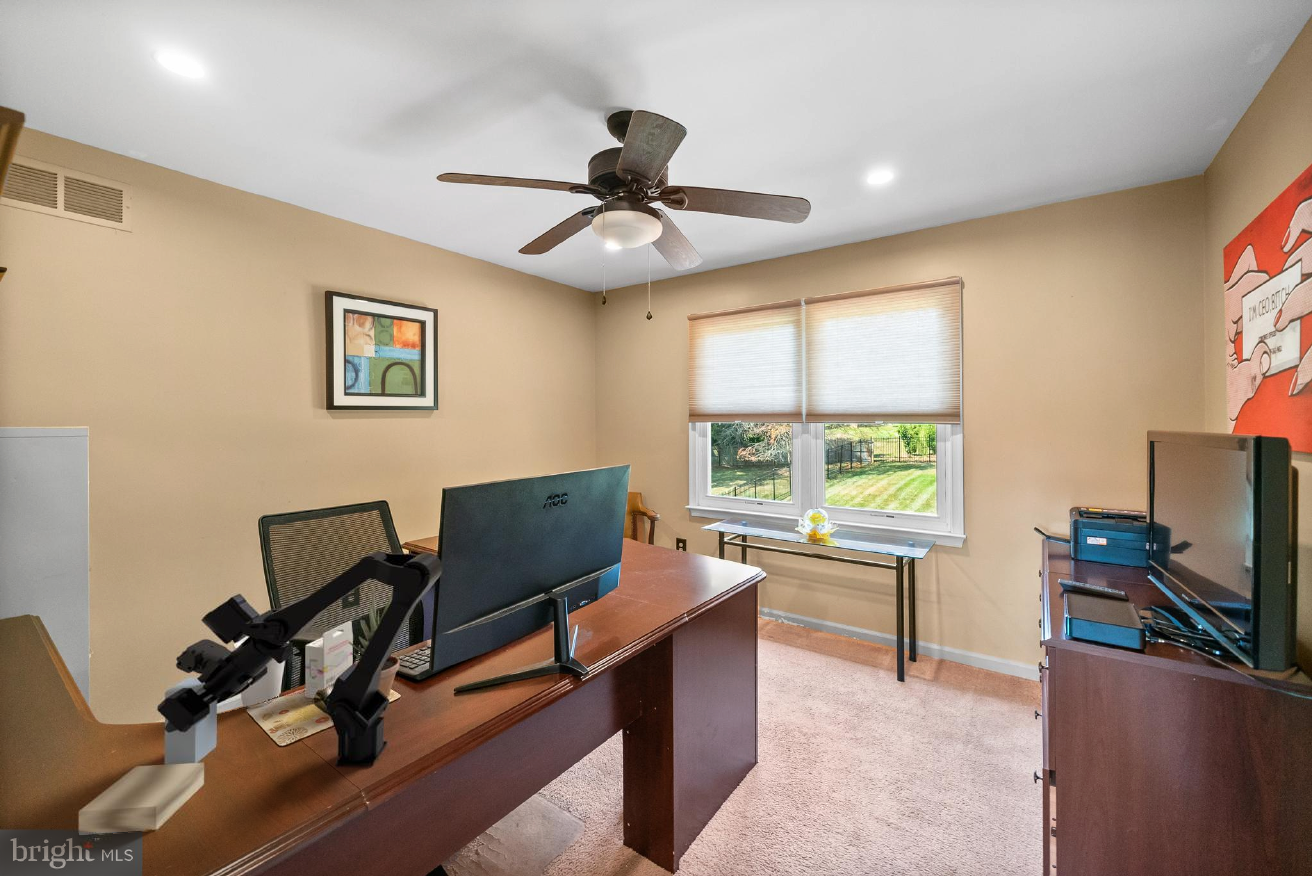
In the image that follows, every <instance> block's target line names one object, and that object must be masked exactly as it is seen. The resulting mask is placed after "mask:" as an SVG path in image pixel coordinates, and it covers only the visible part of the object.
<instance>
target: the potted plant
mask: <svg viewBox="0 0 1312 876" xmlns="http://www.w3.org/2000/svg"><path fill="white" fill-rule="evenodd" d="M371 593H372V594H371V603H372V604H371V603H369V612H368V613H369V626H370V630H369V627H368V626H367V624H366V623H367V622H366V621H365V620H364V619H363V620H362V619H360V621H359V622H360V626H361V629H362V631H363V634H364V637H365V638H366V640H365V639H364V638H362V636H358V639H359V641H360V642H361V645H362V648H360V647H358V646H357V645H355V644H354V643H353V644H352V643H351V642H349V643H350V644H351V645H352V646H353V649H355V650H356V651H358V652H359V653H360V654H362V655H363V653H364V651H365V649H366V647H367V645H368V644H369V642H370V640H371V638H372V636H373V634H374V632H375V631H376V629H377V627H378V625H379V623H380V621H381V619H382V618H383V616H384V614H385V612H386V610H387V608H388V606H389V605H390V603H391V600H392V592H391V594H390V595H389V598H388V601H387V603H386V604H385V607H384V609H383V612H382V615H381V617H380V613H379V612H380V611H379V610H378V611H376V601H375V598H376V597H375V586H374V585H373V586H372V590H371ZM393 652H394V650H393V649H392V650H391V652H390V654H389V656H388V658H387V659H386V661H385V663H384V665H383V667H382V669H381V679H380V683H379V686H378V689H379V690H380V691H381V692H382V693H383V694H384V695H385V696H386V697H387V698H388V697H389V696H390V694H391V691H392V687H393V683H394V680H395V677H396V673H397V672H398V671H399V669H400V658H399V657H397V656H395V655H392V654H393ZM353 654H354V656H355V657H356V658H358V659H359V660H360V658H361V656H362V655H360V654H358V653H355V652H354V653H353ZM359 660H357V661H356V662H354V663H355V664H356V665H357V664H358V662H359Z"/></svg>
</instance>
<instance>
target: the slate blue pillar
mask: <svg viewBox="0 0 1312 876" xmlns="http://www.w3.org/2000/svg"><path fill="white" fill-rule="evenodd" d="M197 678H198V677H187V678H185V679H184V680H182V681H180V682H179V683H178V684H176V685H174V686H173V687H171V688H169V689H167V690H166V691H165V693H164V700H165V699H166V698H167V697H169V696H171V695H172V694H174V693H175V692H177V691H179V690H180V689H182V688H192V689H193V690H194V691H195V692H196V693H197V694H198V695H200V694H202V693H203V692H205V691H206V690H204V689H203V688H202V686H203V685H204V684H205V683H201V682H200V681H199V680H198V679H197ZM211 696H213V695H211ZM211 696H210V697H211ZM210 697H208V698H207V699H209V698H210ZM207 699H205V700H207ZM205 700H204V701H205ZM217 711H218V704H217V700H216V701H214V702H213V703H211V704H210V714H208V715H207V717H206V718H205V719H203V720H202V721H200V722H199V723H198V724H196V725H195V726H193V727H192V728H191V729H189V730H188V731H186V732H180V731H179V730H176V731H173V732H170V733H168V732H167V731H166V730H165V729H164V765H170V764H188V763H199V762H200V761H201V760H202V759H204V757H206V756H207V755H208V754H209V753H210V752H212V751H213V750H214V749H215V748H216V747H217V734H218V733H217V731H218V730H217V729H218V728H217V727H218V726H217V723H218V722H217V721H218V718H217V717H218V716H217V715H218V712H217ZM167 723H168V720H167V719H166V718H165V717H164V728H165V727H166V725H167Z"/></svg>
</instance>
